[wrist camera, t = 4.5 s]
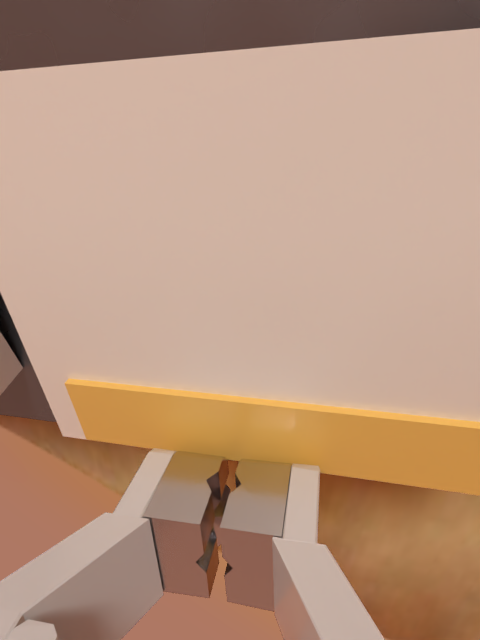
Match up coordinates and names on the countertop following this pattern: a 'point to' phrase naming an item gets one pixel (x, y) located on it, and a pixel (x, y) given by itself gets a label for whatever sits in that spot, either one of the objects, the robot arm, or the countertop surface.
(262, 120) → the rocker
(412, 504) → the countertop surface
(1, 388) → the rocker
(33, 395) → the panel
